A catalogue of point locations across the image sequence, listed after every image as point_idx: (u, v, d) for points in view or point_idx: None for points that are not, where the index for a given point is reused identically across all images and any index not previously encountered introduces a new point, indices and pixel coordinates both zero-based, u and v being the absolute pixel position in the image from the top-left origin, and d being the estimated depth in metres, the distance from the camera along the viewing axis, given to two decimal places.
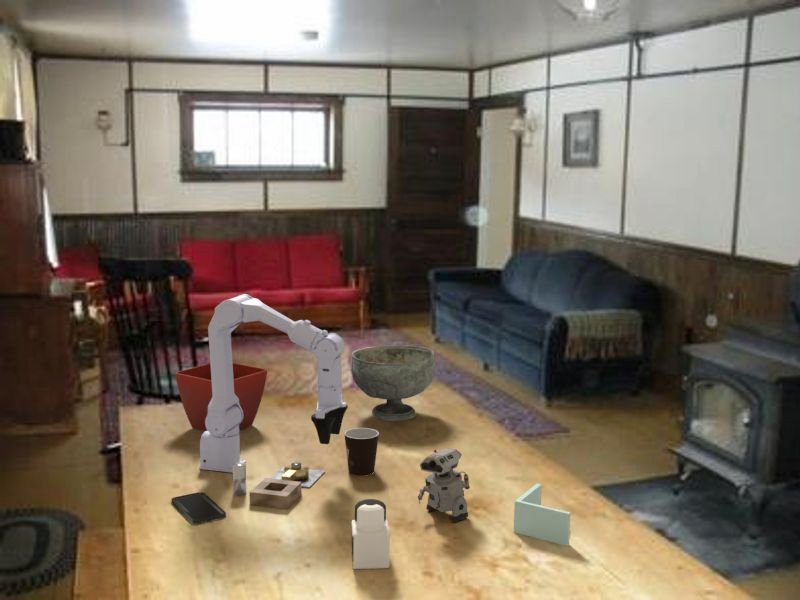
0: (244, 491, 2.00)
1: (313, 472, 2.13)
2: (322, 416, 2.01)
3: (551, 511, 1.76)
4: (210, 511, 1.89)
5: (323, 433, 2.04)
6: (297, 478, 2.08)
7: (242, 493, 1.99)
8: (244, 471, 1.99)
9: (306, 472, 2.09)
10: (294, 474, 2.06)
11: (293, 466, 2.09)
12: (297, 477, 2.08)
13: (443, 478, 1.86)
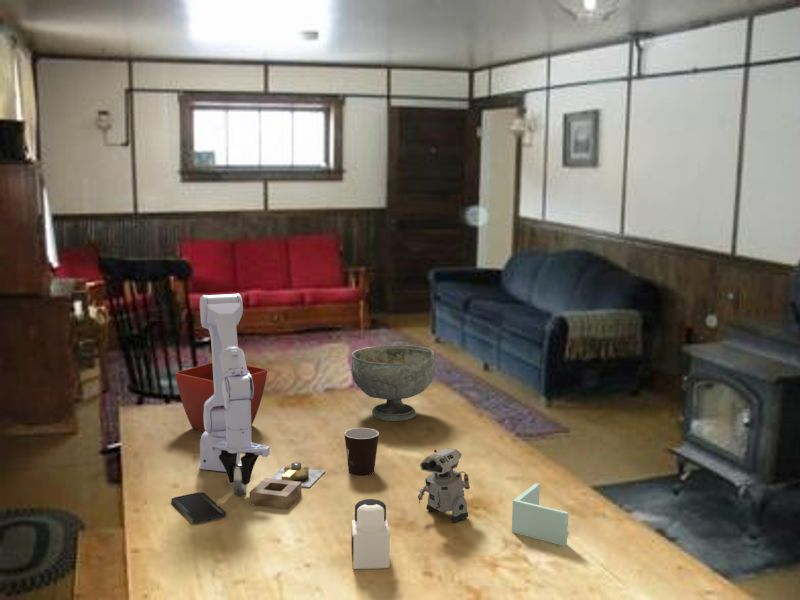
0: (244, 491, 2.00)
1: (313, 472, 2.13)
2: None
3: (549, 510, 1.76)
4: (210, 511, 1.89)
5: None
6: (297, 478, 2.08)
7: (242, 493, 1.99)
8: None
9: (306, 472, 2.09)
10: (294, 474, 2.06)
11: (293, 466, 2.09)
12: (297, 477, 2.08)
13: (443, 478, 1.86)
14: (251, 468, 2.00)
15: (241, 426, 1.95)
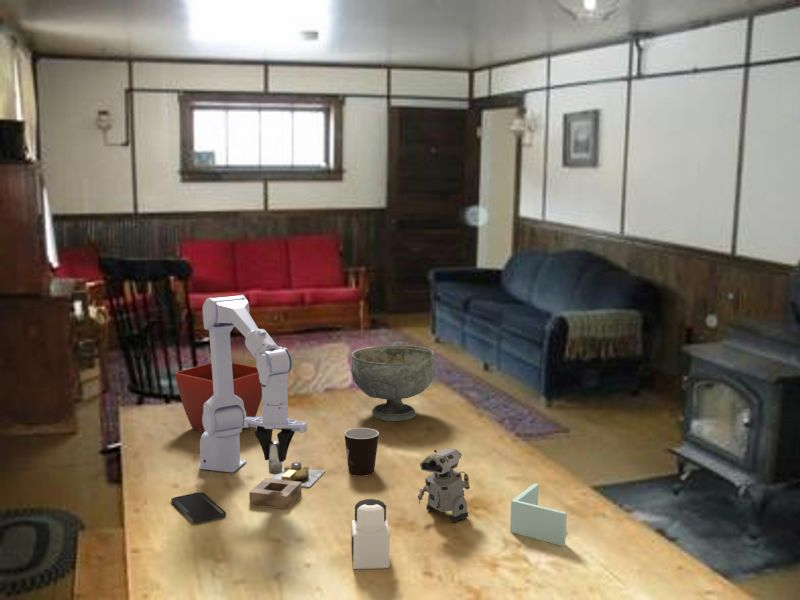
0: (280, 470, 1.95)
1: (313, 472, 2.13)
2: None
3: (548, 511, 1.76)
4: (210, 511, 1.89)
5: None
6: (297, 478, 2.08)
7: (278, 472, 1.95)
8: None
9: (306, 472, 2.09)
10: (294, 474, 2.06)
11: (293, 466, 2.09)
12: (297, 477, 2.08)
13: (443, 478, 1.86)
14: (287, 445, 1.96)
15: (281, 401, 1.91)
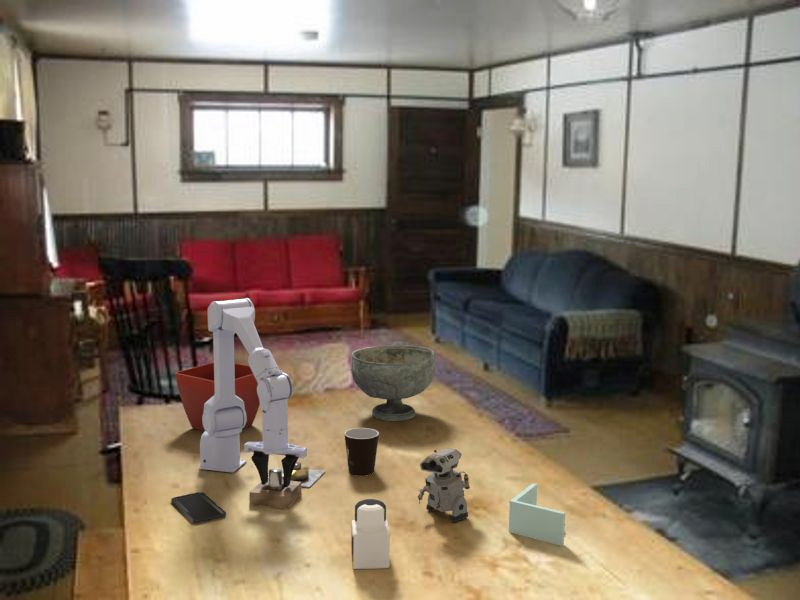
0: None
1: (313, 472, 2.13)
2: None
3: (546, 511, 1.76)
4: (210, 511, 1.89)
5: None
6: (297, 478, 2.08)
7: None
8: (280, 477, 1.96)
9: (306, 472, 2.09)
10: (294, 474, 2.06)
11: None
12: (297, 477, 2.08)
13: (443, 478, 1.86)
14: (291, 470, 1.96)
15: (281, 426, 1.92)
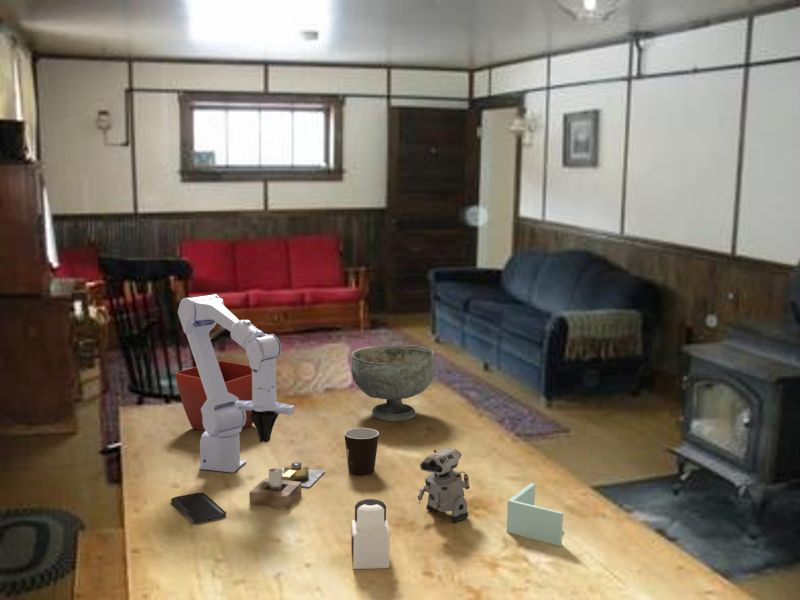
0: None
1: (313, 472, 2.13)
2: None
3: (544, 511, 1.76)
4: (210, 511, 1.89)
5: None
6: (297, 478, 2.08)
7: None
8: (280, 477, 1.96)
9: (306, 472, 2.09)
10: (294, 474, 2.06)
11: (293, 466, 2.09)
12: (297, 477, 2.08)
13: (443, 478, 1.86)
14: (271, 426, 2.06)
15: (272, 384, 2.02)
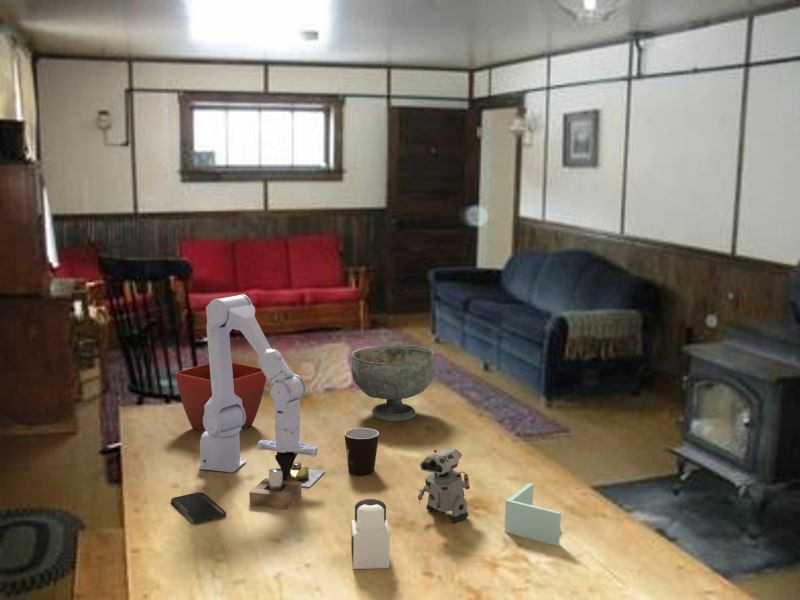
0: None
1: (313, 472, 2.13)
2: None
3: (542, 510, 1.76)
4: (210, 511, 1.89)
5: None
6: (299, 478, 2.08)
7: None
8: (280, 477, 1.96)
9: (307, 471, 2.10)
10: (297, 474, 2.07)
11: (294, 466, 2.09)
12: (299, 477, 2.08)
13: (443, 478, 1.86)
14: (290, 466, 2.06)
15: (297, 425, 2.02)
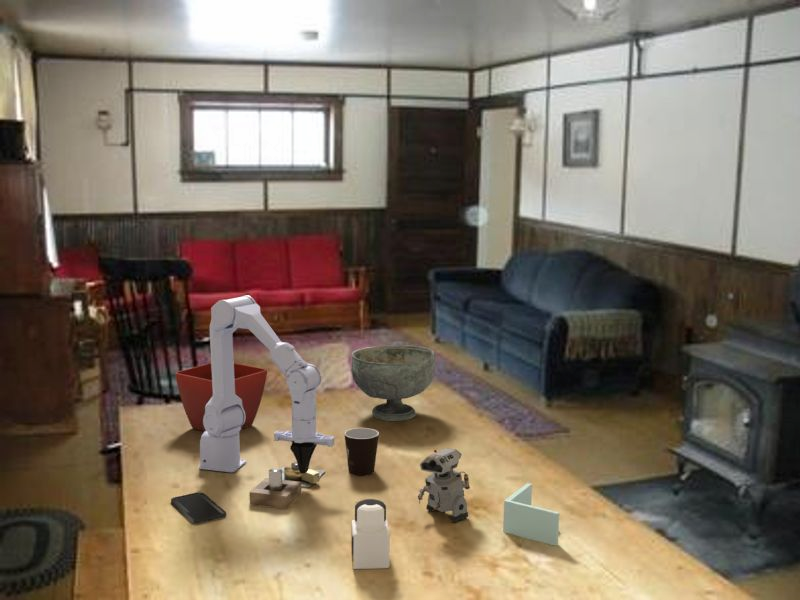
0: None
1: None
2: None
3: (540, 511, 1.76)
4: (210, 511, 1.89)
5: None
6: None
7: None
8: (280, 477, 1.96)
9: None
10: None
11: None
12: None
13: (443, 478, 1.86)
14: (309, 457, 2.05)
15: (313, 415, 2.01)
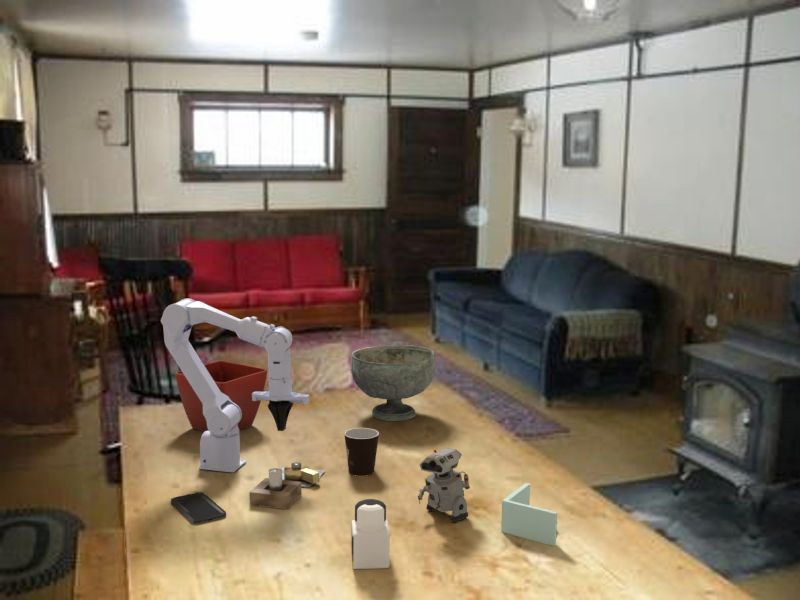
0: None
1: None
2: None
3: (538, 510, 1.76)
4: (210, 511, 1.89)
5: None
6: None
7: None
8: (280, 477, 1.96)
9: None
10: None
11: (298, 466, 2.09)
12: None
13: (443, 478, 1.86)
14: (286, 416, 2.15)
15: None
